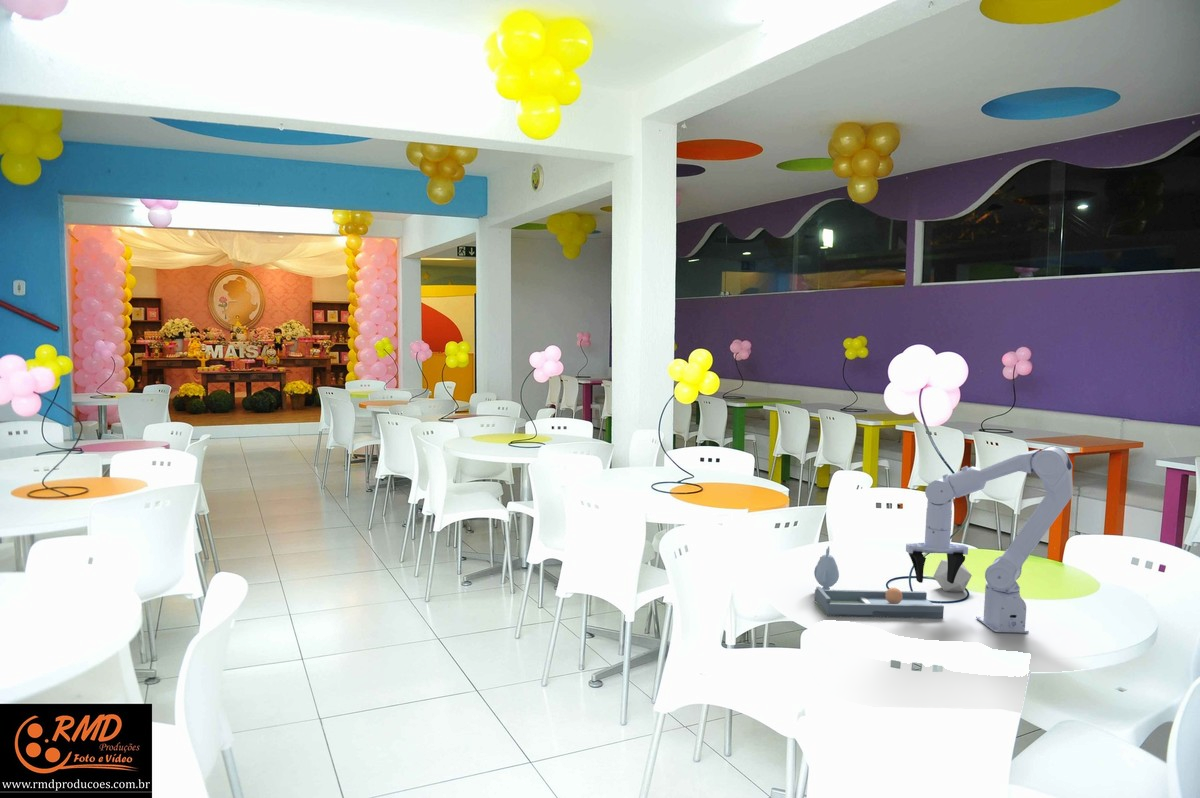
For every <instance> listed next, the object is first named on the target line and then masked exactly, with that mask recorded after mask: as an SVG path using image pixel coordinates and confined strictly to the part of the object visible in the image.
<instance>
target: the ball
mask: <svg viewBox="0 0 1200 798" xmlns="http://www.w3.org/2000/svg"><path fill="white" fill-rule="evenodd" d="M885 591H886V594H885V597H886V600H887V601H888V602H889V603H891V604H898V603H900V602H901V601H902V598H903V596H902V593H901V591H902V590H900V589H899V588H896V587H890V588H888V589H887V590H885Z"/></svg>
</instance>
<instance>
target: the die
mask: <svg viewBox="0 0 1200 798" xmlns="http://www.w3.org/2000/svg"><path fill="white" fill-rule="evenodd" d="M947 570H948V561H947V559H941V560H940V562H939V564H938V565H937V568H936V570H935V572H934V574H933V578H934V579H935V581H936V582H937V583H938V585H939V586H940V588H942V590H943V591H944V592H954V591H965V589H966V588H967V586H968V584H969V582H970V580H971V578H972V577H973V576H972V574H971V572H970V571H969V569H968V568H967V567H966V565H964V563H962V565H961V566H960V568H959V570H958V572H957V574H956V577H955V580H954V583H950V582H948V581H947Z"/></svg>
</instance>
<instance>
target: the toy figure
mask: <svg viewBox="0 0 1200 798" xmlns="http://www.w3.org/2000/svg"><path fill="white" fill-rule="evenodd" d="M825 550H826V551H825V554H822V555H821V556H820V557H819V560H818V562H817V564H816V566H815V567H814V573H813V574H814V578H815V580H816V581H817V583H818V584H819V586H820V587H821V586H822V587H821V588H822V589H823V590H831V589H830V588H831V587H833V586H834V585H835V584H836V583H837V582H838V580H839V577H840V573H839V568H838V564H837V562H836V559H835V557H834V556H833V555H831V554H830V546H829V545H828V546H827V548H826V549H825Z"/></svg>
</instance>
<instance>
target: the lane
mask: <svg viewBox="0 0 1200 798" xmlns="http://www.w3.org/2000/svg"><path fill="white" fill-rule="evenodd" d="M886 591H887V590H869V589H868V590H866V589H865V590H863V589H861V590H860V589H859V590H858V589H857V590H856V589H830V590H823V589H822V587H821V586H816V587H815V589H814V602H815V601H816V602H817V603H816V602H815V603H816V605H817V604H818V605H819V606H818V605H817V606H818V607H819V608H820V610H821V611H822V612H823V613H824V615H825V616H826V615H827V616H826V617H840V616H841V618H842V617H843V618H844V617H846V618H848V617H850V618H851V617H852V618H858V617H859V618H895V619H896V618H899V619H902V618H903V619H904V618H905V619H907V618H908V619H909V618H910V619H944V612H945V611H944V610H945V606H944V605H943V604H934V603H933V602H931V601H930V600H929V599H928V598H927V594H928V593H927V592H926V591H921V590H920V591H915V590H914V591H913V590H912V591H910V590H909V591H907V590H905V591H904V590H900V591H901V593H902V596H903V598H902V601H901V602H900V603H898V604H891V603H889V602H888V601H887V600H886V597H885V594H886ZM911 617H913V618H911Z"/></svg>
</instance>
